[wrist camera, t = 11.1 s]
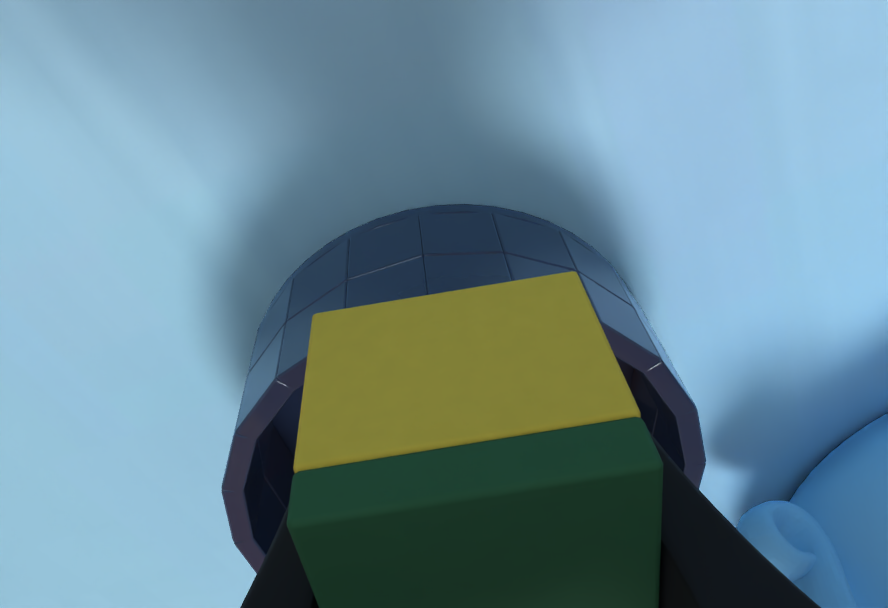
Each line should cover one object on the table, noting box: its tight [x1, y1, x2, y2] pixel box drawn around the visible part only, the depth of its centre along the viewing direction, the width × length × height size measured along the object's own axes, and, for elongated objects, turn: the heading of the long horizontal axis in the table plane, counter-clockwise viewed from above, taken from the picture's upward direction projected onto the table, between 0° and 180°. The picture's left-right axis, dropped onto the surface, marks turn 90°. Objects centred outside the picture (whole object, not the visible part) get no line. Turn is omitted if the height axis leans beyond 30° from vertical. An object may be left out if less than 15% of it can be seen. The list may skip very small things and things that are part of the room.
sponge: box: [287, 271, 663, 608], centre depth 11 cm, size 4×6×4 cm, turn 8°
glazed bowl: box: [222, 204, 706, 573], centre depth 19 cm, size 11×11×4 cm
